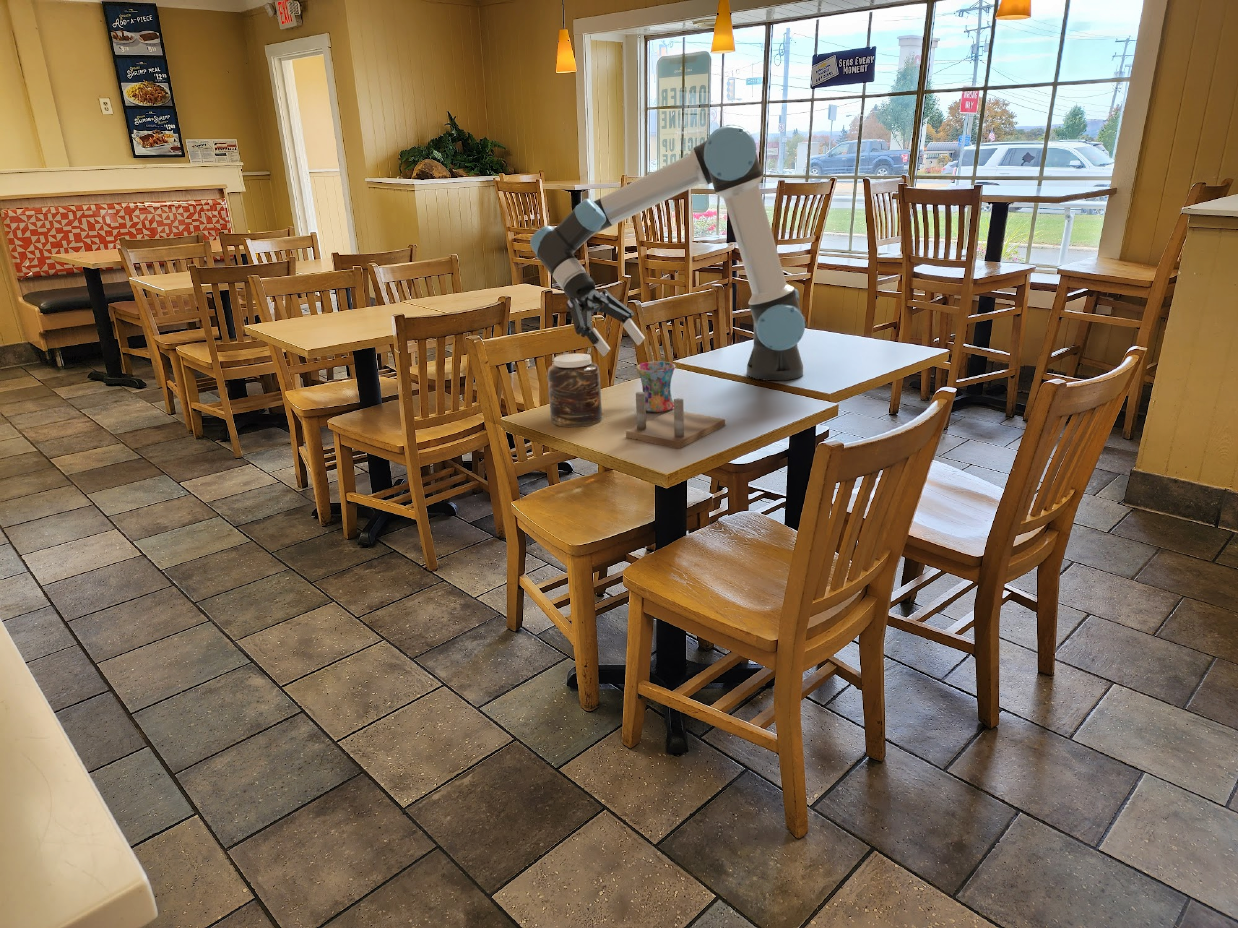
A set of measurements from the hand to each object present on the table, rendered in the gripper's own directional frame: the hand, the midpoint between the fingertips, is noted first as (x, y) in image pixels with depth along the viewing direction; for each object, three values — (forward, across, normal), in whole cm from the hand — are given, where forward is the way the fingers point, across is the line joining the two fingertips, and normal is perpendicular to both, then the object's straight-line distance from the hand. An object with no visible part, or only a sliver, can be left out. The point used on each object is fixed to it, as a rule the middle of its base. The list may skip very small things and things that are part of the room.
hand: (624, 347), depth 197 cm
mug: (+17, 0, -3) cm, 17 cm away
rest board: (+27, +13, +7) cm, 30 cm away
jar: (+9, +18, -11) cm, 23 cm away
